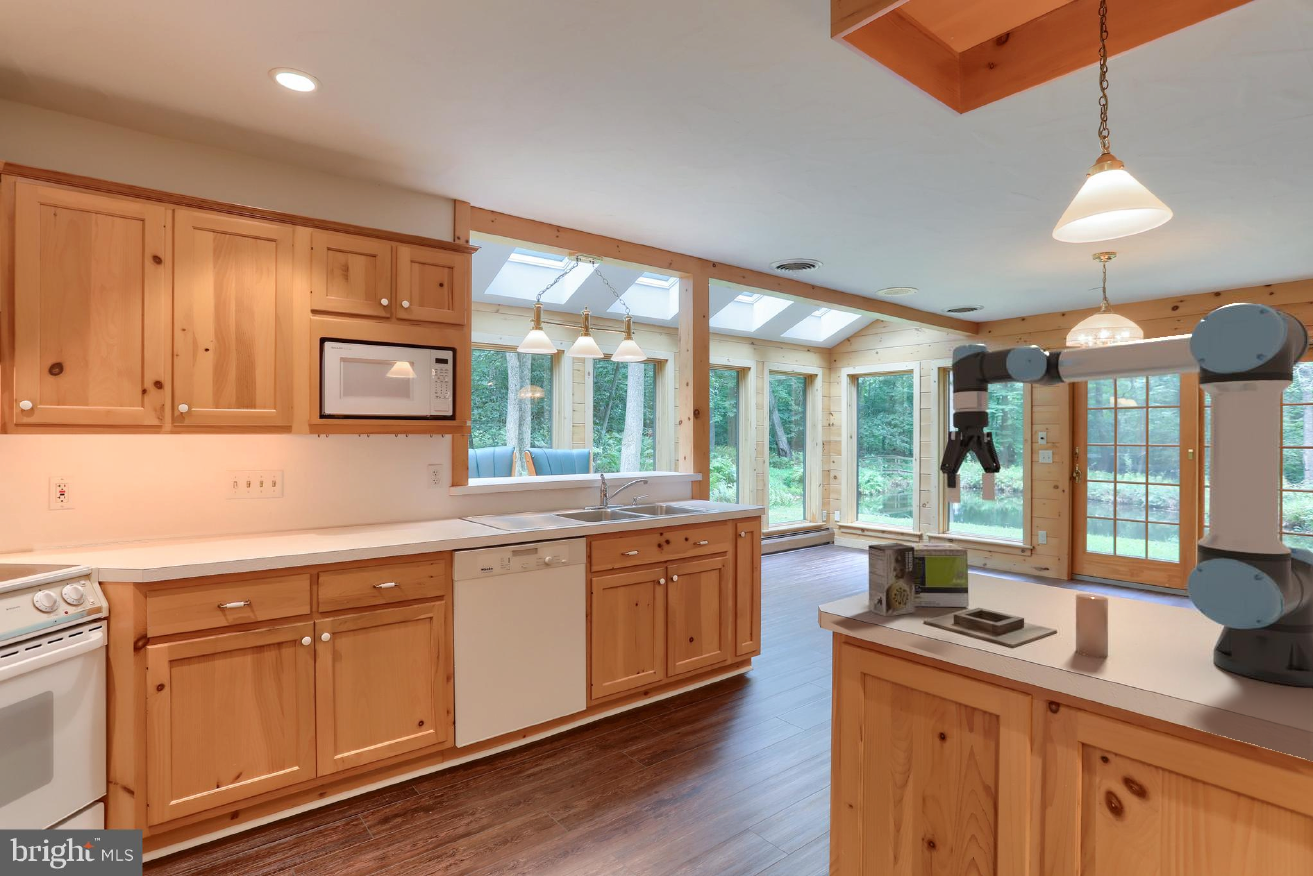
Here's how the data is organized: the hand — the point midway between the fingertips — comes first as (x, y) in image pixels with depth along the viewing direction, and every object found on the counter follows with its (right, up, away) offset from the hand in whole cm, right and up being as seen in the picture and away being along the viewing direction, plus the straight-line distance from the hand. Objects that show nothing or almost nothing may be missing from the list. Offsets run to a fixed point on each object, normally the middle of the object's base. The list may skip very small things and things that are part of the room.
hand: (971, 501), depth 147 cm
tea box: (-4, -28, +14) cm, 31 cm away
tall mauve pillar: (+12, -27, -24) cm, 38 cm away
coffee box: (-17, -28, +5) cm, 33 cm away
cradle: (0, -27, -8) cm, 28 cm away
